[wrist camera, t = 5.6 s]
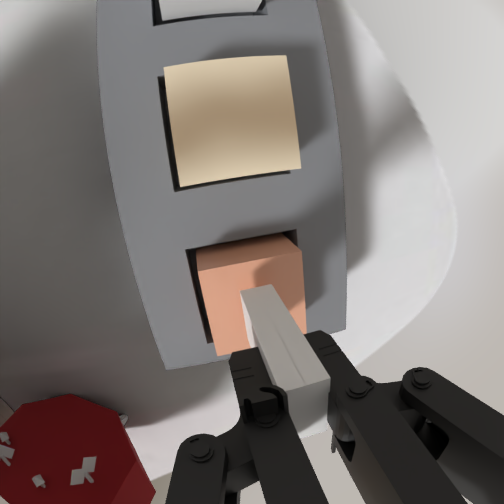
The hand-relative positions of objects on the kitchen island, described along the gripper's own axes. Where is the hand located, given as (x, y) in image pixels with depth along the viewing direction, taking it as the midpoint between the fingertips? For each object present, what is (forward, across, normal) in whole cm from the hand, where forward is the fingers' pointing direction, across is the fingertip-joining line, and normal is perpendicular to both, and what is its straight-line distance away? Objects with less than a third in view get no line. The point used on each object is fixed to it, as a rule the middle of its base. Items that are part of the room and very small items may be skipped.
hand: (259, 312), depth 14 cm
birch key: (+3, 0, +9) cm, 9 cm away
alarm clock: (+8, -18, -12) cm, 23 cm away
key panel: (+8, 0, +9) cm, 12 cm away
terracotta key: (+4, 0, 0) cm, 4 cm away
